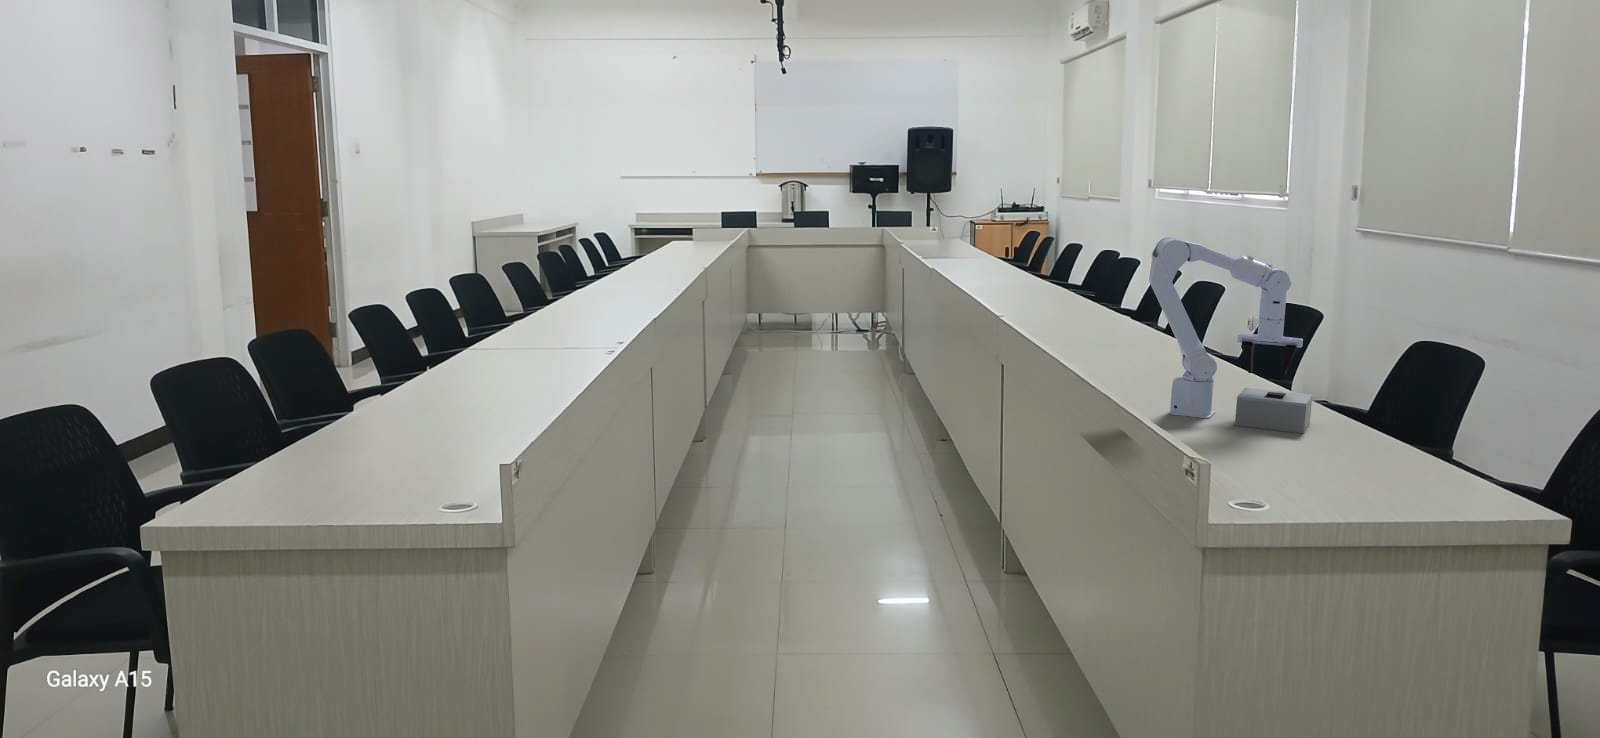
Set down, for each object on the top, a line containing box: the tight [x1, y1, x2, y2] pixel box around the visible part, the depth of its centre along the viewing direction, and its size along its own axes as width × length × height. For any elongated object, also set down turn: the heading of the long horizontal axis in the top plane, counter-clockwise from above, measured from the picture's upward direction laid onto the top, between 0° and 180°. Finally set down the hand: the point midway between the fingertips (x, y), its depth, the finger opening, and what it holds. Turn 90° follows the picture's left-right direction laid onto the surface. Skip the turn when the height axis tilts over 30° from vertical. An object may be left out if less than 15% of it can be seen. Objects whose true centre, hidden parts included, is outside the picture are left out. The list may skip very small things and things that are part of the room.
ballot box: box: [1234, 387, 1313, 434], centre depth 274 cm, size 15×12×7 cm
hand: (1266, 374), depth 281 cm, fingers open, 7 cm apart
